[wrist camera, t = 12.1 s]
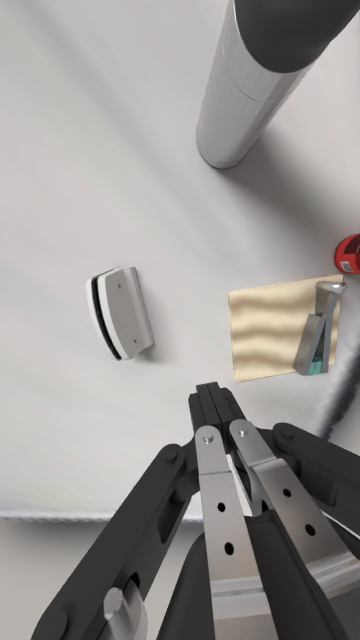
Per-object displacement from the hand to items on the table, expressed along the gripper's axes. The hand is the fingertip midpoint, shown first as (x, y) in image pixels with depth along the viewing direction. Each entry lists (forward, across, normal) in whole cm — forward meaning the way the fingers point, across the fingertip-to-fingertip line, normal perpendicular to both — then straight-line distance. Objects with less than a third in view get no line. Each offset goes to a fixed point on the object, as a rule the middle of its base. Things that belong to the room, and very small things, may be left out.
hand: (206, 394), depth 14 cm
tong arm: (+25, -28, +10) cm, 39 cm away
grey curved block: (+27, +10, -1) cm, 29 cm away
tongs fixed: (+26, -29, +8) cm, 40 cm away
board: (+27, -23, +8) cm, 36 cm away
